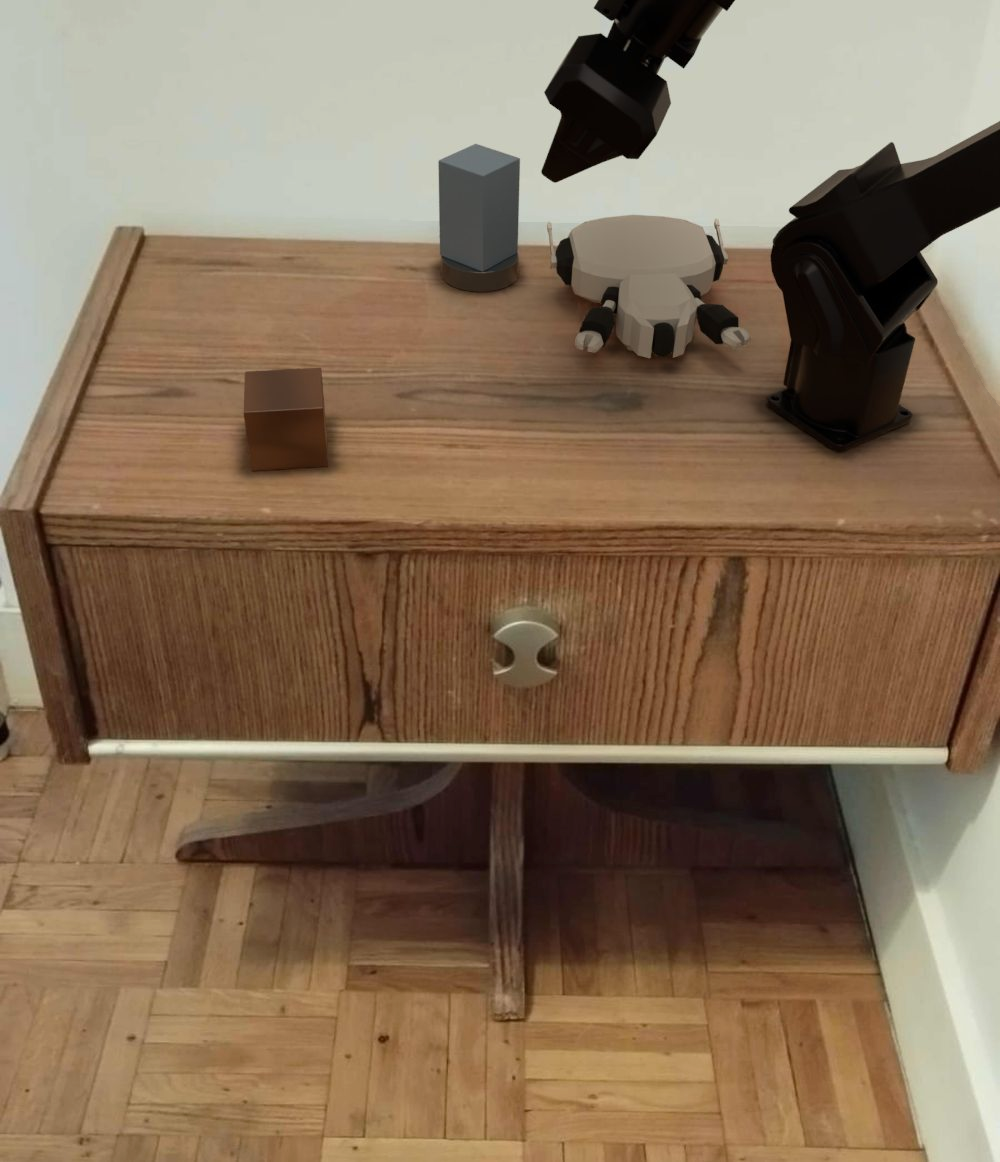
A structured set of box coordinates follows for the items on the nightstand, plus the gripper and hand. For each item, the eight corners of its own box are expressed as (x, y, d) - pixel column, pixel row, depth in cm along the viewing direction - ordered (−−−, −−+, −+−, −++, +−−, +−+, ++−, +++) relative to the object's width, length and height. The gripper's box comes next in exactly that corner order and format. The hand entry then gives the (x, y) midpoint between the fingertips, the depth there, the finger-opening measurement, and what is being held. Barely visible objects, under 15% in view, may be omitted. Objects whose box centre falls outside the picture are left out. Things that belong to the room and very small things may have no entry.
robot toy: (753, 382, 84) (709, 262, 94) (765, 323, 81) (718, 205, 91) (566, 388, 83) (543, 266, 94) (570, 328, 80) (546, 208, 90)
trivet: (533, 279, 93) (534, 260, 92) (468, 299, 90) (468, 279, 89) (490, 249, 96) (490, 231, 95) (426, 268, 94) (426, 249, 93)
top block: (518, 253, 92) (520, 157, 88) (482, 272, 90) (483, 175, 86) (475, 237, 94) (475, 143, 90) (439, 255, 92) (437, 160, 87)
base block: (326, 424, 78) (321, 367, 75) (328, 466, 74) (323, 407, 72) (252, 429, 77) (244, 371, 75) (251, 471, 74) (243, 412, 71)
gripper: (635, -232, 72) (508, -10, 84) (536, -92, 61) (406, 140, 73) (792, -109, 74) (646, 90, 87) (725, 48, 63) (568, 251, 75)
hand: (569, 136), depth 80 cm, fingers open, 9 cm apart
